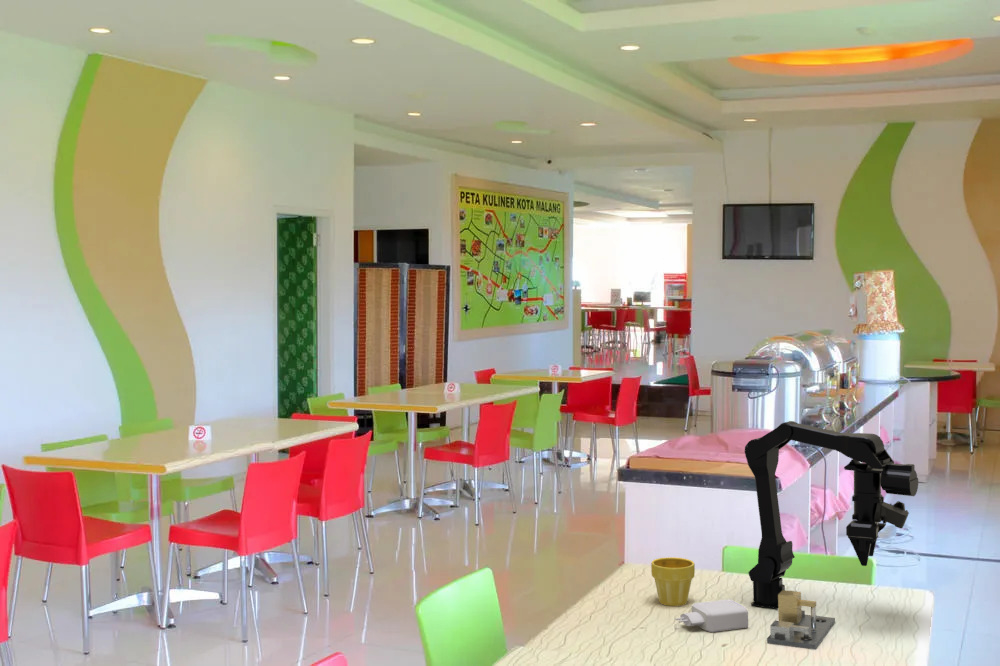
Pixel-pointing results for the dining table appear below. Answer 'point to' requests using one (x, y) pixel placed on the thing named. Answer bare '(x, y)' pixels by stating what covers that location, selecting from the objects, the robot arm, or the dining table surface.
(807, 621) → the dividers base
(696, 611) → the charger
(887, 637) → the dining table surface
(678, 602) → the plant pot
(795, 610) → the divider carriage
